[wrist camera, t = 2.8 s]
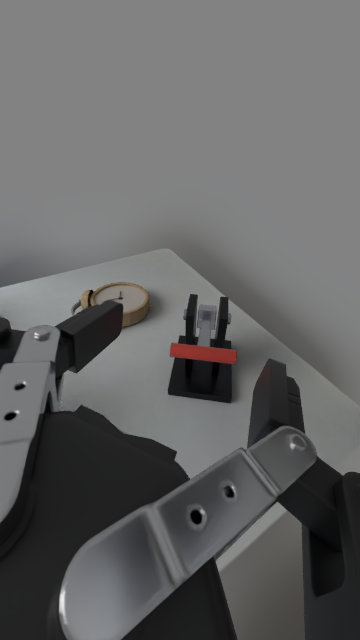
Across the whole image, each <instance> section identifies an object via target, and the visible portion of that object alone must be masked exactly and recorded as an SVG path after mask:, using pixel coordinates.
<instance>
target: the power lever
mask: <svg viewBox="0 0 360 640" xmlns="http://www.w3.org/2000/svg"><path fill="white" fill-rule="evenodd" d="M215 321H216V306H210V305H200V306H199V311H198V322H197V328H200V333H199V338H198V344H197V346H196V345H187V344H179V343H172V344H171V347H170V356H171V357H177V358H186V359H194V360H203V361H211V362H219V363H228V364H235V363H236V356H237V352H236V350H232V349H223V348H214V347H210V334H211V329H213V330H214V329H215Z"/></svg>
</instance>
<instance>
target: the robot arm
mask: <svg viewBox="0 0 360 640" xmlns="http://www.w3.org/2000/svg"><path fill="white" fill-rule="evenodd" d="M122 321H123V304H122V303H119V302H116V301H113V300H111V299H108V300H107V301H105V302H103V303H102V304H100V305H99V304H97V305H93V306H90V307H87V308H86V309H84V310H82V311H81V312H79V313H77V314H76V315H74V316H72V317H70V318H69V319H67V320H65V321H63V322H62V323H60V324H58V325H57V326H55V327H53V326H48V325H42V326H36V327H33V328H31V329H29V330H27V331H19V330H13V329H11V327H10V323H9V321H8V320H7V319H5V318H0V640H237V636H236V633H235V629H234V625H233V622H232V619H231V615H230V611H229V608H228V604H227V600H226V597H225V593H224V590H223V586H222V583H221V579H220V576H219V572H218V568H217V565H216V560H217V559H218V558H219V557H220V556H221V555H222V554H223V553H224V552H225V551H226V550H227V549H229V548H230V547H231V546H232V545H233V544H234V543H235V542H236V541H237V540H238V539H239V538H240V537H241V536H242V535H243V534H244V533H245V532H246V531H247V530H248V529H249V528H250V527H251V526H252V525H253V524H254V523H255V522H256V521H257V520H258V519H259V518H261V517H262V516H263V515H264V514H265V513H266V512H267V511H268V510H269V509H270V508H271V507H272V506H273V505H274V504H275V503H276V502H277V501H278V502H279V503H280V504H281V505H282V506H283V507H284V508H286V509H287V510H288V511H289V512H290V513H291V514H293V515H294V516H295V517H296V518H297V519H298V520H299V521H300V522H302V550H303V583H304V584H303V586H304V621H305V640H360V473H356V472H348V473H346V474H345V475H344V476H342V475H341V474H340V473H339V472H337V471H336V470H334V469H333V468H332V467H330V466H329V465H328V464H326V463H325V462H324V461H322V460H321V459H320V458H319V457H318V456H317V452H316V449H315V447H314V445H313V443H312V442H311V440H310V439H309V438H308V437H307V436H306V435H305V430H304V422H303V414H302V407H301V399H300V390H299V387H298V385H297V384H296V382H295V380H294V379H293V378H290V377H288V376H287V375H286V365H285V364H283V363H280V362H278V361H275V360H272V359H268V361H267V363H266V365H265V367H264V368H263V370H262V372H261V374H260V376H259V378H258V380H257V382H256V385H255V388H254V392H253V400H252V409H251V418H250V427H249V435H248V444H247V449H246V450H244V449H243V448H239V449H237V450H235V451H234V452H232V453H231V454H229V455H228V456H226V457H224V458H223V459H221V460H220V461H218V462H217V463H215V464H214V465H212V466H210V467H209V468H207V469H206V470H204V471H203V472H201V473H200V474H198V475H196V476H195V477H193V478H192V479H190V478H189V477H188V475H187V474H186V472H185V471H184V470H183V469H182V467H181V466H180V465H179V464H178V463H177V462H176V461H174V459H175V456H176V453H177V451H175V450H173V449H171V448H168V447H166V446H164V445H162V444H160V443H158V442H156V441H154V440H152V439H148V438H143V437H138V436H133V435H128V434H124V433H122V432H121V431H120V430H118V429H117V428H116V427H115V426H114V425H113V424H112V423H111V422H110V421H109V420H107V419H106V418H105V417H104V416H103V415H101V414H99V413H97V412H95V411H93V410H91V409H89V408H87V407H85V406H83V405H81V406H80V407H79V408H78V409H77V410H76V411H75V412H73V411H60V402H61V395H62V388H63V381H64V372H66V371H67V370H70V371H72V372H74V373H76V374H77V373H78V372H79V371H80V370H81V369H82V368H83V367H84V366H86V365H87V364H88V363H89V362H90V361H91V360H92V359H94V358H95V357H96V356H97V355H98V354H99V353H100V352H101V351H103V350H104V349H105V348H106V347H107V346H108V345H109V344H110V343H112V342H113V341H114V340H115V339H116V338H117V337H118V336H119V334H120V332H121V330H122Z"/></svg>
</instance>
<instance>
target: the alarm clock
mask: <svg viewBox="0 0 360 640" xmlns="http://www.w3.org/2000/svg"><path fill="white" fill-rule="evenodd" d="M108 299H111V300H113V301H116V302H119V303H122V304H123V321H122V327H124V326H129V325H133V324H135V323H137V322H139V321H141V320H142V319H143V318H145V316H146V315H147V313H148V309H149V307H154V305H151V304H148V294H147V291H146V290H145V289H144V288H142V287H141V286H139V285H136V284H132V283H125V282H119V283H111V284H108V285H104V286H102V287H100V288H98V289H97V290H96V291H95V292H93V290H87V291H85V292H84V293H83V294H82V297H81V299H80V300H79V302H78V303H76V304H75V305H74V306H73V307H72V310H71V311H72V316H74V312H75V310H76V309H77V308H78V307H79V306H82V308H83V310H84V309H86V308H87V307H90V306H93V305H97V304H99V305H100V304H102V303H103V302H105V301H107V300H108Z"/></svg>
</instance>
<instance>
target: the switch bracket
mask: <svg viewBox="0 0 360 640" xmlns="http://www.w3.org/2000/svg"><path fill="white" fill-rule="evenodd" d="M197 298H198V295H194V294H190V298H189V303H188V307H187V309H185V310H184V315H183V319H184V320H186V336H181V335H180V337H179V341H178V343H179V344H187V345H196V346H197V344H198V338H199V337H195V334H196V316H197ZM230 322H231V314H230V313H228V297H220V305H219V312H218V319H217V326H216V334H215V339H210V347H214V348H223V349H231V341H227V340H225V335H226V329H227V324H230ZM168 394H169V395H175V396H183V397H190V398H197V399H204V400H211V401H219V402H226V403H231V399H232V378H231V364H228V363H219V362H211V361H203V360H194V359H186V358H177V357H175V360H174V364H173V369H172V373H171V378H170V383H169V387H168Z"/></svg>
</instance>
